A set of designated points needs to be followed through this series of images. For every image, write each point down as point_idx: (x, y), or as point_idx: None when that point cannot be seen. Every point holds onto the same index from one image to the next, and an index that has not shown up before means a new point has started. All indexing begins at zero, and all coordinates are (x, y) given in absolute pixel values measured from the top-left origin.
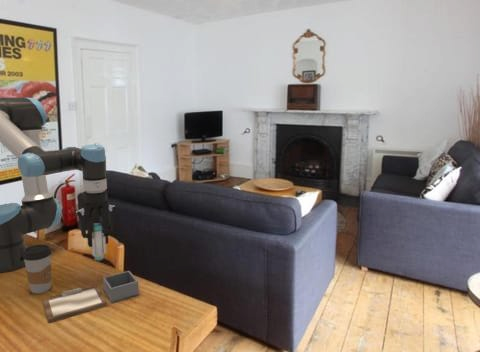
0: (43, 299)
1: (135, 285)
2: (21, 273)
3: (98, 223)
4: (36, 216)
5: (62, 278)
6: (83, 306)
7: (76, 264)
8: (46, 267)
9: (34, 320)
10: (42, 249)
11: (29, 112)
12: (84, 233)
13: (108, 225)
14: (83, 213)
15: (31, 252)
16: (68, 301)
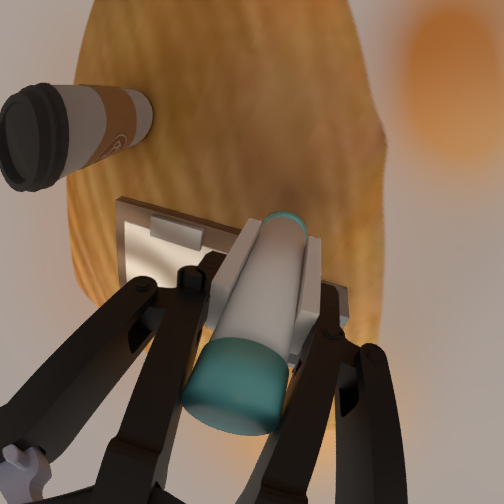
0: (117, 202)
1: None
2: None
3: (254, 409)
4: None
5: (199, 83)
6: None
7: (288, 7)
8: (85, 166)
9: (104, 253)
10: (27, 156)
11: None
12: (131, 345)
13: (363, 390)
14: (43, 479)
15: (11, 148)
16: (160, 262)
